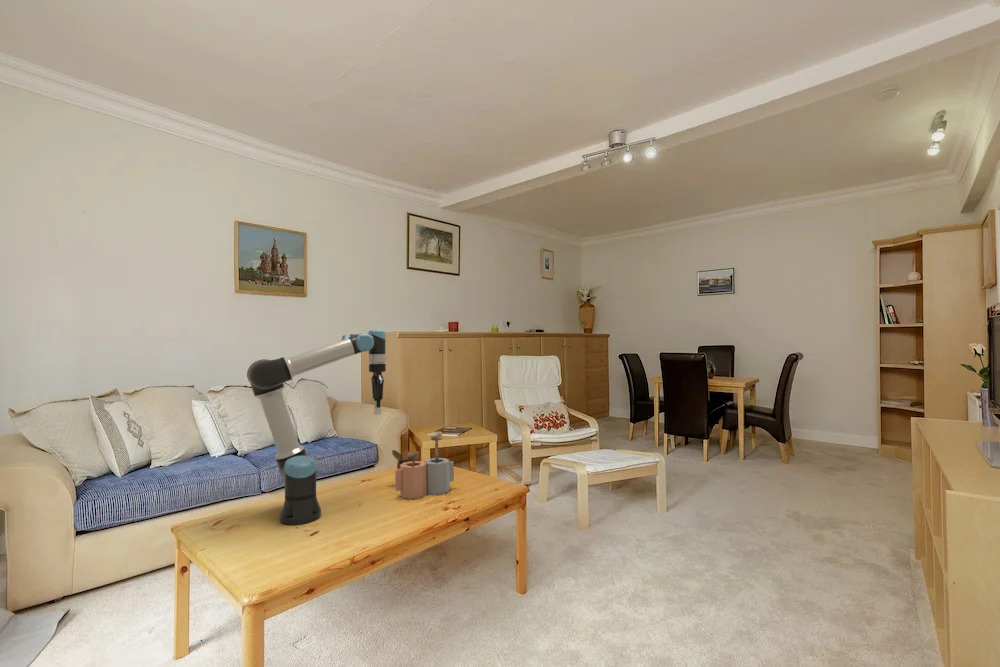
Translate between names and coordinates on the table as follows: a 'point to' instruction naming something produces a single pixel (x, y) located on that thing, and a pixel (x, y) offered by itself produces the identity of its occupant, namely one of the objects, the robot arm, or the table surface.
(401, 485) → the pink octagonal mug
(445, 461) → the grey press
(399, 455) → the wooden mug
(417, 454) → the taupe plunger
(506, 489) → the table surface
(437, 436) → the grey plunger
